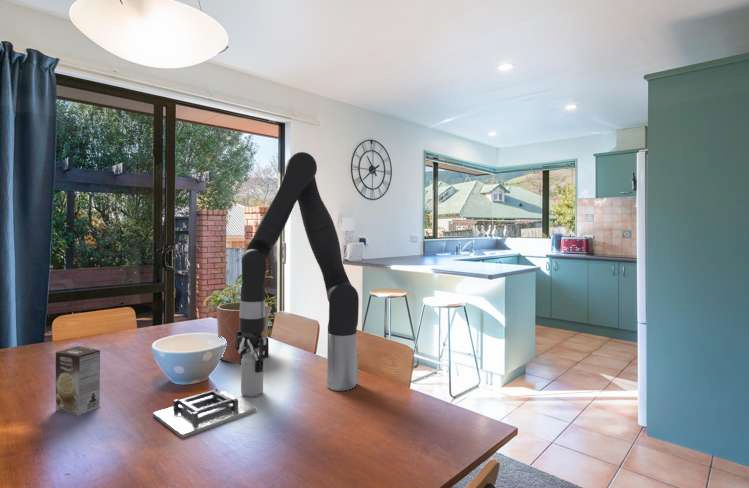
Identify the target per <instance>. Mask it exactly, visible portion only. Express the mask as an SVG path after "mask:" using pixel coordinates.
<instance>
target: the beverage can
mask: <svg viewBox="0 0 749 488" xmlns="http://www.w3.org/2000/svg"><path fill="white" fill-rule="evenodd" d="M258 356H259V353H258ZM255 360H256V359H255V356H254V354H252V352H250V353H245V354H243V358H242V359H241V366H240V393H241V395H243V397H246V398H255V397H258V396H260V395H261V394H262V393H264V370H263V371H262V372H259V373H256V372H255Z"/></svg>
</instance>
